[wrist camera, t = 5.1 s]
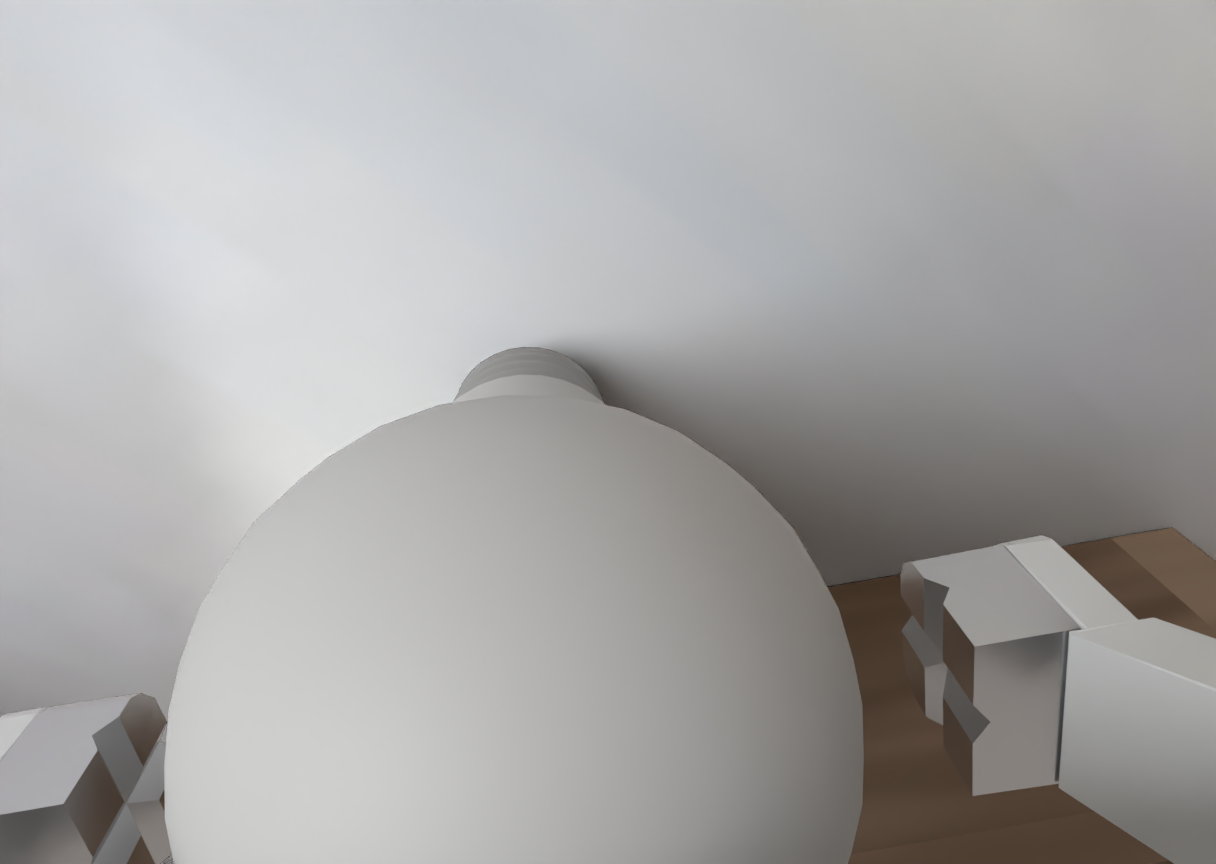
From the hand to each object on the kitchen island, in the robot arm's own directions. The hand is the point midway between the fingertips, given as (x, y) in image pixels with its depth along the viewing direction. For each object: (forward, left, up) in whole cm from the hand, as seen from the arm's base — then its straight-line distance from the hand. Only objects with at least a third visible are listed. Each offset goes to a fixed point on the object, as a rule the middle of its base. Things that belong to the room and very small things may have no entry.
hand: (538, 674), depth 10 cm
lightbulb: (-1, 0, -7) cm, 7 cm away
